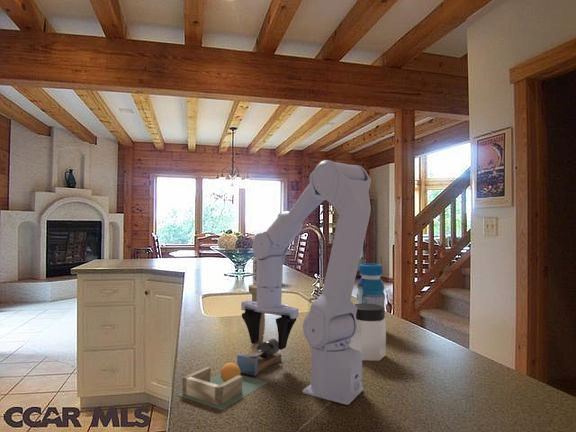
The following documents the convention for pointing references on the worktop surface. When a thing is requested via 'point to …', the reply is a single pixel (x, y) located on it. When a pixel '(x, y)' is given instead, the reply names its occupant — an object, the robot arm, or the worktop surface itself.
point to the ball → (229, 371)
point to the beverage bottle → (370, 285)
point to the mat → (247, 388)
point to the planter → (256, 270)
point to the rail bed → (268, 361)
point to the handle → (262, 322)
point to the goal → (211, 387)
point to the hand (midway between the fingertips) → (268, 345)
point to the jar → (370, 332)
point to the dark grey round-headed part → (250, 361)
